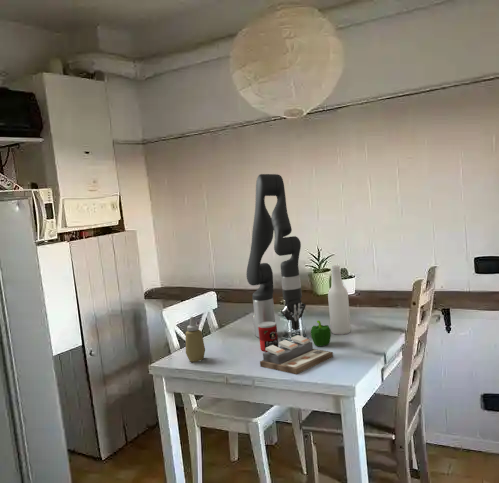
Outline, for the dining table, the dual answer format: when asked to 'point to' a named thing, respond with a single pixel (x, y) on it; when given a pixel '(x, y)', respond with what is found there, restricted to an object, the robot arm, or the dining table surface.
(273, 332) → the canned food
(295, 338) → the rocker
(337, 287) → the alcohol
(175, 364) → the dining table surface
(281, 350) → the rocker
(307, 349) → the switch box
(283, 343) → the rocker
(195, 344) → the squeeze bottle
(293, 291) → the robot arm
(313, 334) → the bell pepper
